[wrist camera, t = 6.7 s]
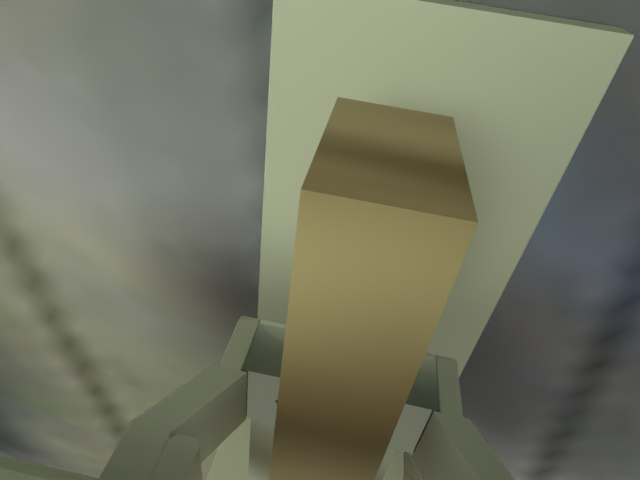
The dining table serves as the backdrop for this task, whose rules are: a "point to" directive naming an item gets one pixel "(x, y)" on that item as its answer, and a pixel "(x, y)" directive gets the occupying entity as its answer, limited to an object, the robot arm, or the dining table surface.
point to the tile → (234, 458)
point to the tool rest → (444, 99)
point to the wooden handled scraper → (364, 289)
